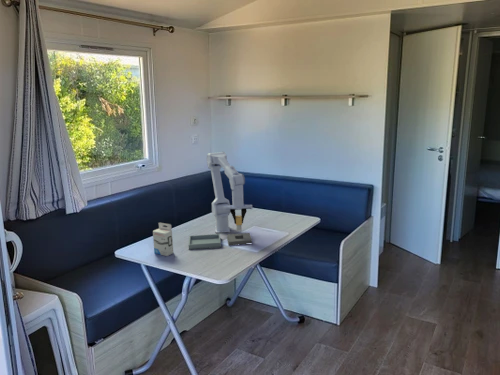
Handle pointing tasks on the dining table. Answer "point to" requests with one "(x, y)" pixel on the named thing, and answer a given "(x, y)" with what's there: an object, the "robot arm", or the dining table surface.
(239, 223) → the block
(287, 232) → the dining table surface
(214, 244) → the parts tray
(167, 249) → the ink box
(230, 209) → the robot arm
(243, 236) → the fuse holder
